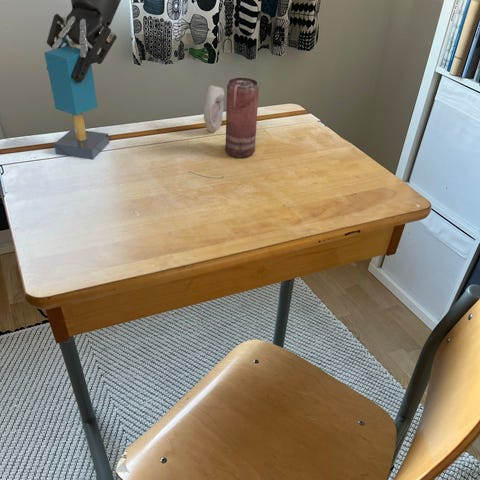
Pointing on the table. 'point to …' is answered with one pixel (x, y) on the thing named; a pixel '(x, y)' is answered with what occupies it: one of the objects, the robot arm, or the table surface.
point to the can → (241, 117)
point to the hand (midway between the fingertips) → (63, 76)
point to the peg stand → (81, 141)
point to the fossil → (213, 108)
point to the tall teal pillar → (69, 82)
